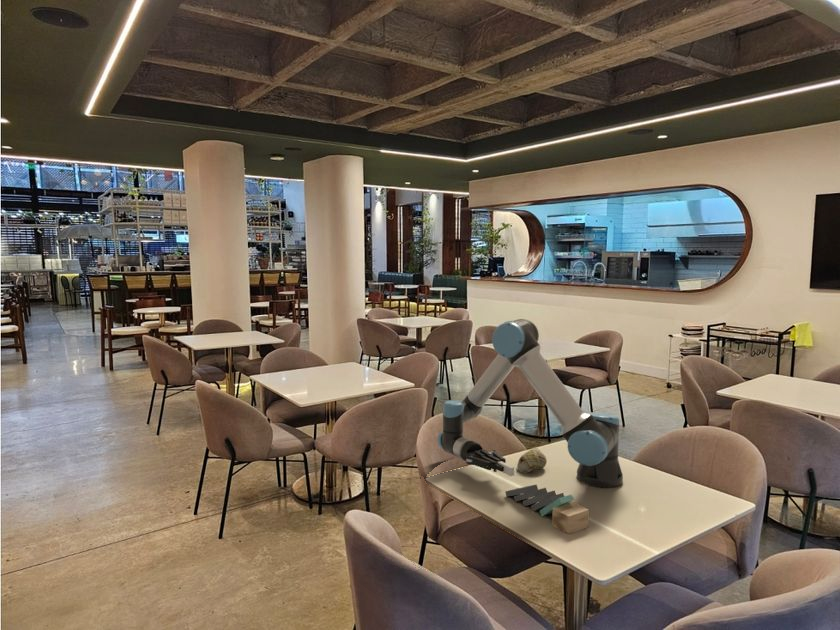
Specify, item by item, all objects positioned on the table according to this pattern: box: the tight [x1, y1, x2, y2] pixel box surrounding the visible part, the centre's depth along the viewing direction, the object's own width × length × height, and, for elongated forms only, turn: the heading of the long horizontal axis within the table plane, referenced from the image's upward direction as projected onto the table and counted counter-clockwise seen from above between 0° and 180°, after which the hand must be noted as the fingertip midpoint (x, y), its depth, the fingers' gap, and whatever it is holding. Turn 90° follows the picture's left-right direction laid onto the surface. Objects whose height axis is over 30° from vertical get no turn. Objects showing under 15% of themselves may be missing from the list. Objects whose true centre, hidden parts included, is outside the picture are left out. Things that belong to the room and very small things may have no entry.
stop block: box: [551, 501, 590, 535], centre depth 151 cm, size 6×8×5 cm
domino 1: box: [504, 484, 539, 497], centre depth 168 cm, size 2×5×10 cm
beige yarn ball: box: [516, 447, 548, 474], centre depth 195 cm, size 10×10×10 cm
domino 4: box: [530, 492, 565, 512], centre depth 158 cm, size 2×5×10 cm
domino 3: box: [522, 490, 557, 507], centre depth 162 cm, size 2×5×10 cm
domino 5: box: [539, 494, 575, 517], centre depth 156 cm, size 2×5×10 cm
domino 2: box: [513, 487, 548, 502], centre depth 165 cm, size 2×5×10 cm
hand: (512, 471), depth 172 cm, fingers closed
